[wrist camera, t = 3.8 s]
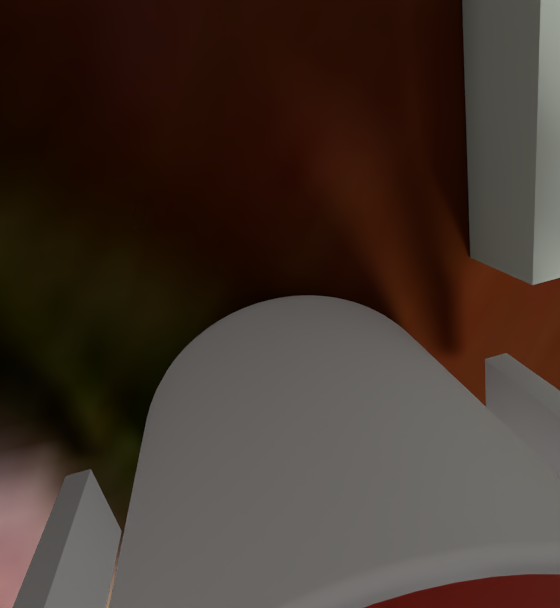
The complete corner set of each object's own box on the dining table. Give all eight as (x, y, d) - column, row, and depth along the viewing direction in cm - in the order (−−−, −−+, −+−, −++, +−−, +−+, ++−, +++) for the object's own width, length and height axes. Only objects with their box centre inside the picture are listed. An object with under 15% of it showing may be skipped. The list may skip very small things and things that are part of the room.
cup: (219, 233, 13) (259, 463, 4) (467, 342, 16) (829, 620, 7) (109, 483, 16) (-27, 984, 6) (341, 537, 18) (478, 931, 9)
